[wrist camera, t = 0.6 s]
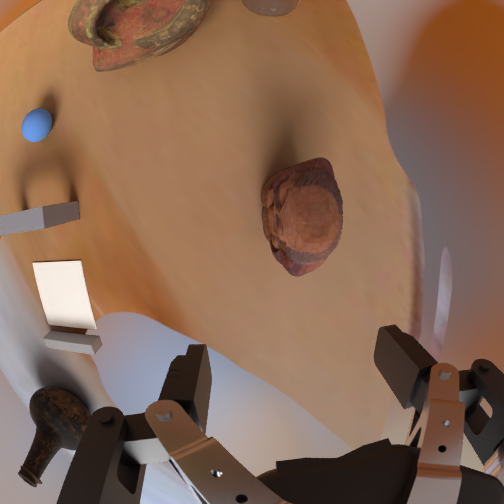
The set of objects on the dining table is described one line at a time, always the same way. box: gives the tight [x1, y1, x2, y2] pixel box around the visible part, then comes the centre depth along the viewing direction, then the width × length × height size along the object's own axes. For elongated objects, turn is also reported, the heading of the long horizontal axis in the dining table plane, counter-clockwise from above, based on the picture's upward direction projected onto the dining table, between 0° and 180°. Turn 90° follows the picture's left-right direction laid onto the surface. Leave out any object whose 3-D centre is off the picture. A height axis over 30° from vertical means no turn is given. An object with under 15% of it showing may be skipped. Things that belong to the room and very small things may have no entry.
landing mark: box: [33, 261, 97, 329], centre depth 40 cm, size 13×13×1 cm
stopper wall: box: [43, 330, 102, 355], centre depth 41 cm, size 2×13×4 cm, turn 92°
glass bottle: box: [18, 387, 91, 487], centre depth 34 cm, size 18×18×28 cm
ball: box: [22, 108, 52, 142], centre depth 30 cm, size 6×6×6 cm
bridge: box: [0, 201, 80, 236], centre depth 32 cm, size 3×15×10 cm, turn 92°
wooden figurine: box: [261, 158, 343, 276], centre depth 30 cm, size 12×6×18 cm, turn 1°
